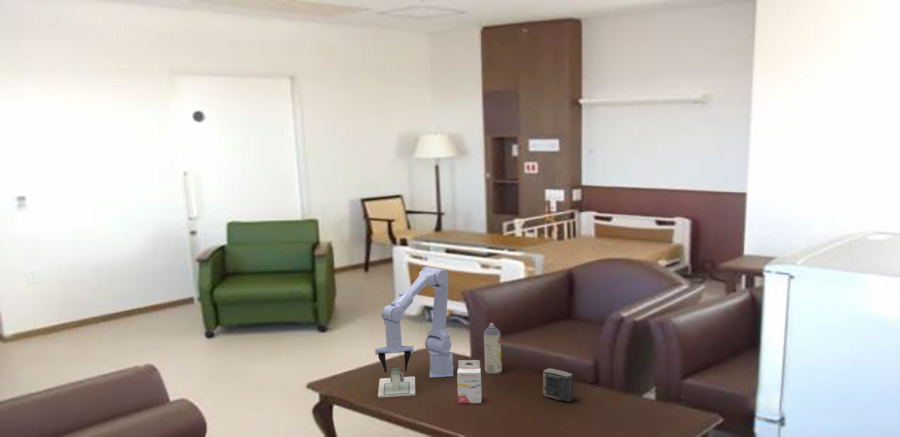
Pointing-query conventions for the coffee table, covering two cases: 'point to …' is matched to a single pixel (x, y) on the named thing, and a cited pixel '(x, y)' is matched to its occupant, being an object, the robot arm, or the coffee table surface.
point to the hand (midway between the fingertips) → (395, 371)
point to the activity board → (406, 390)
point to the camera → (558, 384)
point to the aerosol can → (492, 350)
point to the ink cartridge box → (469, 382)
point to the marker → (396, 378)
